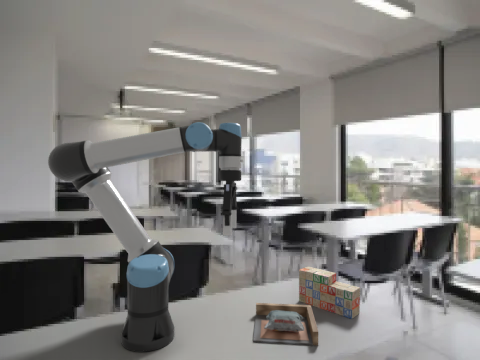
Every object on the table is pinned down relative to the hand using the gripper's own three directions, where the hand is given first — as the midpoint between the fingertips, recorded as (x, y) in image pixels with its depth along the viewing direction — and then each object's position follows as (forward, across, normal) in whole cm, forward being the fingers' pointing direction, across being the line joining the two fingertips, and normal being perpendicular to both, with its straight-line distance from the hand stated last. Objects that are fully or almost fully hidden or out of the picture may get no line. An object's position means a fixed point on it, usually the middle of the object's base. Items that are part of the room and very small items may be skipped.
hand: (230, 231), depth 111 cm
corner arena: (+29, -8, -18) cm, 35 cm away
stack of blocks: (+29, +10, -35) cm, 46 cm away
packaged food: (+28, -10, -18) cm, 35 cm away
